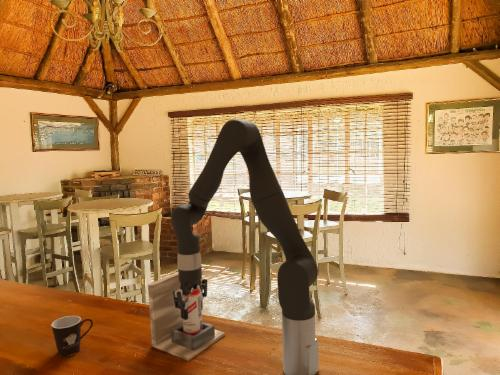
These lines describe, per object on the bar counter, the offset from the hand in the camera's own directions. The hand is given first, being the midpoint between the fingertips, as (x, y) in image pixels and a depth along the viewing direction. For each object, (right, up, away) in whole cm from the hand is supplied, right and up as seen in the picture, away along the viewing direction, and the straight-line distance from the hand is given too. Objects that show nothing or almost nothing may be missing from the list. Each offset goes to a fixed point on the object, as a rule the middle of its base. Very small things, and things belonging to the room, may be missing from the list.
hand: (192, 314), depth 128 cm
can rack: (-1, -9, +2) cm, 10 cm away
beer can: (0, -7, +1) cm, 7 cm away
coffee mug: (-38, -11, -1) cm, 40 cm away
